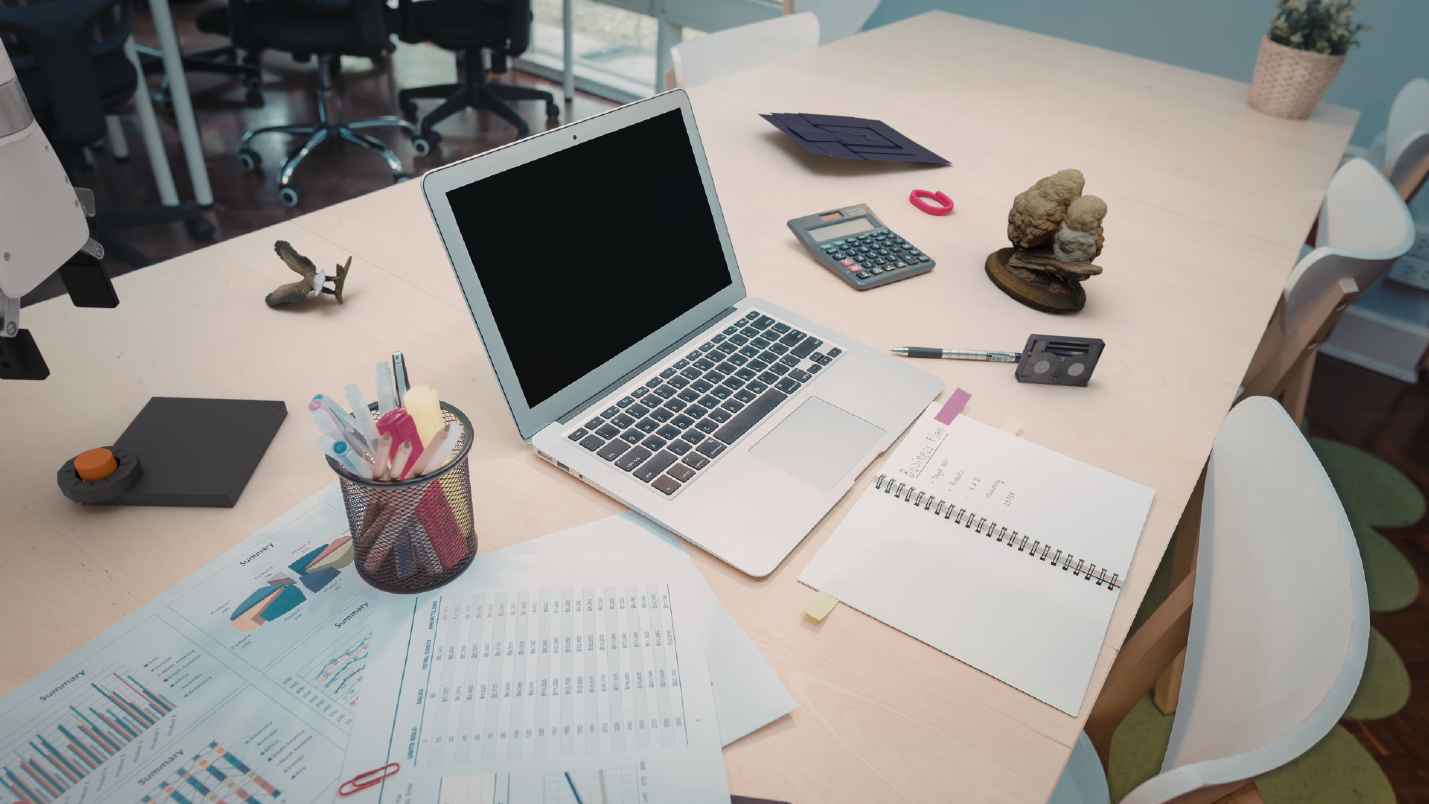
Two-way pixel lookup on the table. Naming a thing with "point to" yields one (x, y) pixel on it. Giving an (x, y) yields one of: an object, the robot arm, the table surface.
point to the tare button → (95, 464)
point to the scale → (182, 454)
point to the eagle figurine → (305, 277)
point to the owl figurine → (1051, 244)
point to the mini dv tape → (1059, 360)
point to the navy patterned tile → (850, 137)
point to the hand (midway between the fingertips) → (64, 339)
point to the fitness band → (937, 196)
